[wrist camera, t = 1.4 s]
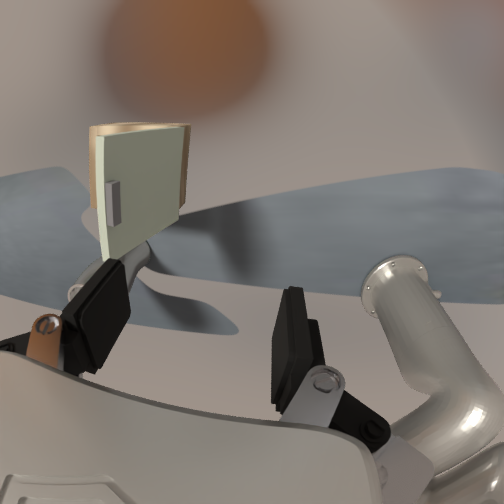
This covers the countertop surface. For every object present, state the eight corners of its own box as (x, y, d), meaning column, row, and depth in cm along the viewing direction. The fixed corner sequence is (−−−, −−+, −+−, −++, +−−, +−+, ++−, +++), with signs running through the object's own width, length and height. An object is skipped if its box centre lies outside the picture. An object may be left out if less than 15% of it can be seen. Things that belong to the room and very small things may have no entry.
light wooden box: (191, 124, 34) (177, 126, 28) (185, 202, 39) (172, 217, 33) (112, 122, 34) (89, 126, 28) (111, 194, 39) (91, 208, 33)
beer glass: (109, 235, 42) (57, 286, 29) (144, 225, 41) (95, 279, 28) (125, 271, 45) (83, 329, 32) (160, 265, 44) (122, 327, 31)
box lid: (176, 126, 28) (190, 127, 28) (171, 218, 33) (184, 221, 33) (95, 136, 18) (111, 136, 17) (102, 260, 23) (116, 266, 23)
